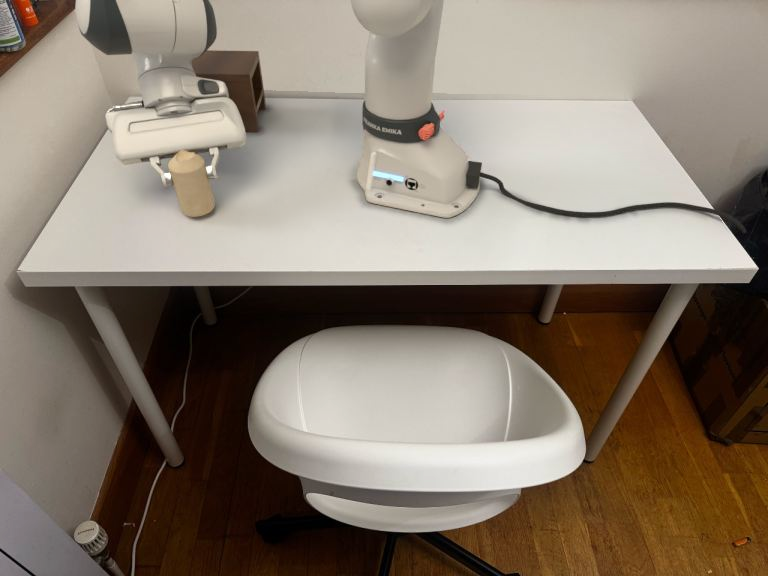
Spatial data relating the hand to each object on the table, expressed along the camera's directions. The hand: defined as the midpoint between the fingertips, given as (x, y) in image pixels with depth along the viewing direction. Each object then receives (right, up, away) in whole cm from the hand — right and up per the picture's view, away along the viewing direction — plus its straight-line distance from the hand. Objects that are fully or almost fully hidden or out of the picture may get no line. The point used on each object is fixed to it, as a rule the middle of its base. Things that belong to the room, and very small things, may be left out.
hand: (191, 181), depth 90 cm
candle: (0, -4, +4) cm, 6 cm away
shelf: (-1, +18, +28) cm, 34 cm away
